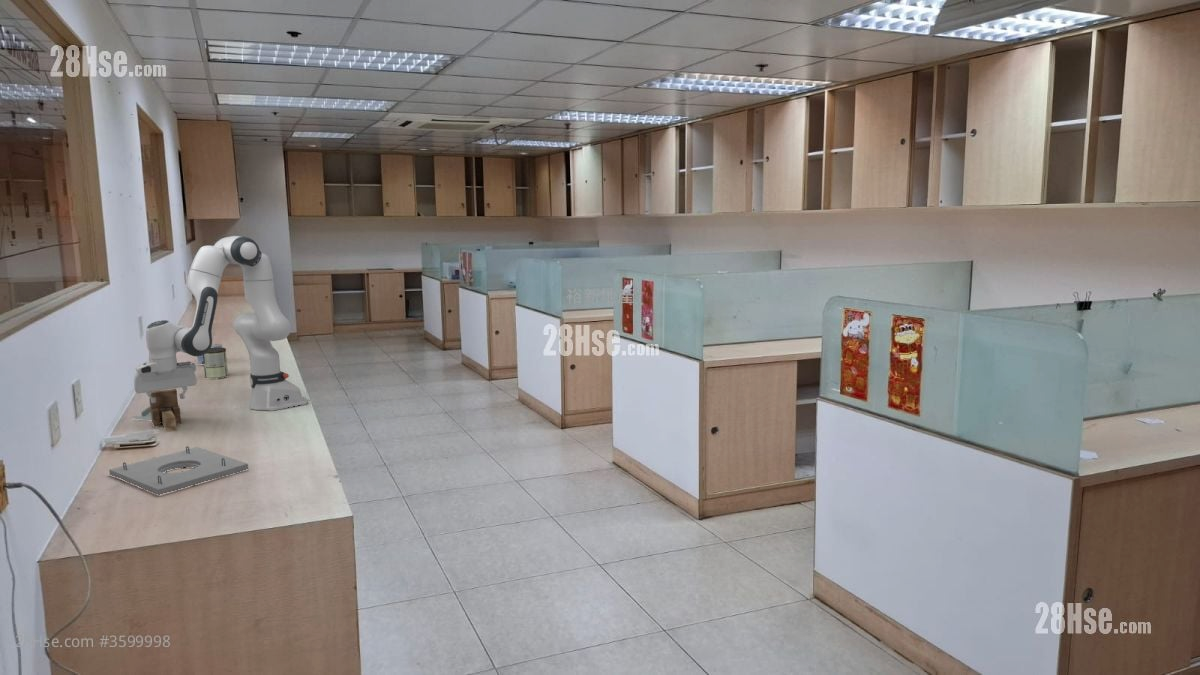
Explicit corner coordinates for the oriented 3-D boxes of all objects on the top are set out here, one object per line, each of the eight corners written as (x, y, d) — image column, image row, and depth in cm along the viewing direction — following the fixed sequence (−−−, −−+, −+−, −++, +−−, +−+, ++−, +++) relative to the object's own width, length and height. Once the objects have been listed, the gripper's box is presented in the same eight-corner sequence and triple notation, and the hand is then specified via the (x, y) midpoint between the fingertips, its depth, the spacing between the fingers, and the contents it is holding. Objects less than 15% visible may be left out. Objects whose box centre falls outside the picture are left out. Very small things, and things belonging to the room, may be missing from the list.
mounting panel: (196, 440, 249) (247, 456, 233) (197, 454, 250) (248, 471, 233) (108, 462, 227) (157, 481, 211) (110, 477, 228) (159, 498, 212)
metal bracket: (150, 398, 301) (184, 400, 299) (155, 411, 303) (188, 412, 301) (125, 417, 288) (160, 419, 286) (130, 430, 291) (164, 432, 288)
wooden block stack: (178, 418, 292) (175, 388, 290) (181, 423, 286) (178, 392, 284) (151, 422, 287) (148, 391, 285) (154, 427, 280) (150, 396, 278)
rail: (172, 422, 287) (170, 407, 286) (176, 430, 276) (175, 415, 275) (162, 423, 285) (160, 409, 284) (165, 431, 274) (164, 416, 273)
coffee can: (200, 378, 364) (198, 349, 362) (221, 374, 373) (219, 346, 370) (211, 380, 359) (208, 351, 356) (232, 377, 367) (230, 348, 364)
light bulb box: (197, 365, 395) (195, 345, 393) (206, 363, 401) (204, 343, 399) (215, 366, 393) (214, 346, 391) (224, 363, 399) (222, 343, 398)
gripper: (193, 359, 285) (198, 394, 288) (131, 367, 273) (136, 403, 276) (196, 362, 280) (200, 397, 283) (132, 370, 268) (137, 407, 271)
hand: (168, 400), depth 279 cm, fingers open, 8 cm apart
